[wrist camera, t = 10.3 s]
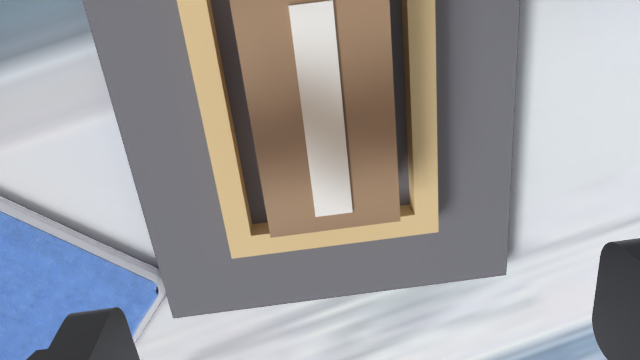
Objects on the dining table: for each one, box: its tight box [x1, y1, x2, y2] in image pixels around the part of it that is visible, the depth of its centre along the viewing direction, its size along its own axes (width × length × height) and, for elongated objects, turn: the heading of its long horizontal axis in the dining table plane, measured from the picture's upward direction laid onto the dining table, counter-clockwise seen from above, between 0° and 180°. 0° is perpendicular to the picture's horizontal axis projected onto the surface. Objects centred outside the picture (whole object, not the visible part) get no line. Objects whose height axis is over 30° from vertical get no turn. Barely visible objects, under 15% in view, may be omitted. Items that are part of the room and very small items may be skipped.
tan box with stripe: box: [229, 0, 401, 238], centre depth 20 cm, size 9×5×3 cm, turn 6°
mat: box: [83, 0, 520, 318], centre depth 21 cm, size 16×20×2 cm
